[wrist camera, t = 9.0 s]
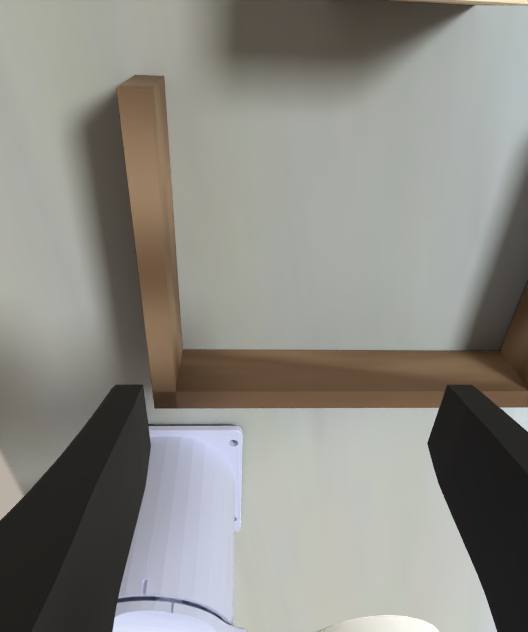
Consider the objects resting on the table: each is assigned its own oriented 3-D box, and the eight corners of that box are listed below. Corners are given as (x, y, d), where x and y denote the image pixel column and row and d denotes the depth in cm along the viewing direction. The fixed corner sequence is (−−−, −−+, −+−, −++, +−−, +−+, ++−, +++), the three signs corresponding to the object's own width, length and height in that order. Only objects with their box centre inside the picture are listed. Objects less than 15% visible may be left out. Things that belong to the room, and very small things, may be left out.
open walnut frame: (512, 366, 25) (543, 407, 22) (163, 365, 24) (154, 408, 21) (627, 93, 18) (692, 108, 15) (134, 75, 16) (116, 87, 14)
